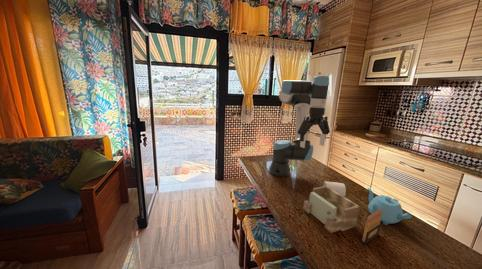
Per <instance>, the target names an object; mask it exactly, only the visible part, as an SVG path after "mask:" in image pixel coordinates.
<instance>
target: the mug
mask: <svg viewBox="0 0 482 269" xmlns="http://www.w3.org/2000/svg"><path fill="white" fill-rule="evenodd" d="M323 186H327V187H328V188H330V189H332V190H333V191H335V192H337V193H338V194H340V195H342V196H343V197H345V198H346V191H347V188H346V185H345V183H342V182H334V181H327V180H325V181H323V185H322V187H323Z"/></svg>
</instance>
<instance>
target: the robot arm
mask: <svg viewBox="0 0 482 269" xmlns="http://www.w3.org/2000/svg"><path fill="white" fill-rule="evenodd" d="M329 85H330V77H329V76H327V75H316V76H315V75H314V76H313V79H312V80H295V79H292V80H291V79H284V80H282V81H281V87H280V88H281V90H280V91H279V94H278V99H279V101H280V102H281V103H283V104H285V105H288V106H293V108H294V109H295V139H293V141H291V140H286V139H280V140H277V141H275V142H274V143H273V148H272V160H271V162H270V166H268V167H269V168H268V172H269V174H271V173H272V174H274V175H273V176H275V175H276V177H280V176H282V178H283V177H285V178H286V177H288V176H290V175H291V168H290V161H301V162H309V161H311V159H312V156H313V153H314V145H313V144H311V141H310V139H309V131H310V129H311V127H313V126H318V128H319V129H320V132H321V133H320V136H319V138H320V139H319V144H318V145H319V146H322V147H324V146H325V142H326V139H327V135H329V133H331V132H330V131H331V130H330V126H329V121H328V116H326V115H325V112H326V104H327V98H328V91H329ZM272 174H271V175H272Z"/></svg>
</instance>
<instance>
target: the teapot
mask: <svg viewBox="0 0 482 269" xmlns="http://www.w3.org/2000/svg"><path fill="white" fill-rule="evenodd" d="M367 190H368V192H369V194H368V203H369V204H368V205H367V206H368V207H367V209H368V212H369V213H370V215H371V214H373V213H374V212H376V211H378V210H380V209H382V215H381V223H382V224H383V225H385V226H388V225H391V224H396V223H399V222H401V221H402V220H407V219H411V218H413V217H412V215H411V213H410V212H406V213H403V212H404V211H403V207H402V205H401V203H400V202H399V200H398V199H396V198H393V197H391V196H388V195H384V194H383V195H376V196H375V197H374V192H373V190H372V189H370V188H369V187H367Z"/></svg>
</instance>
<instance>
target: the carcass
mask: <svg viewBox="0 0 482 269" xmlns="http://www.w3.org/2000/svg"><path fill="white" fill-rule="evenodd" d="M312 192H315V193H316V194H318V195H319V196H321V197H322V198H324V199H325V200H326V201H328V202H329V203H331V204H332V205H334V206H335V207H337V210H336V216H335V221H331V220H330V219H328V218H326V220H325V224H324V228H325V230H327V231H328V232H329V233H331V234H333V233H335V232H338V231H341V232H344V231H347V230H349V229H352V228H355V227H357V223H358V218H359V215H360V209H361V206H360V205H358V204H357V203H355V202H353V201H352V200H350V199H349V198H347V197H346V196H345V197H343V196H342V195H340V194H338V193H337V192H335V191H333V190H332V189H330V188H328V187H327V186H323V185H322V186H319V187H318V186H317V187H313V188H312ZM309 200H310V194H308V199H307V200H304V201H303V207H302V209H303V211H305V212H306V213H307V214H311V213H310V209H311V204H309Z"/></svg>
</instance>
